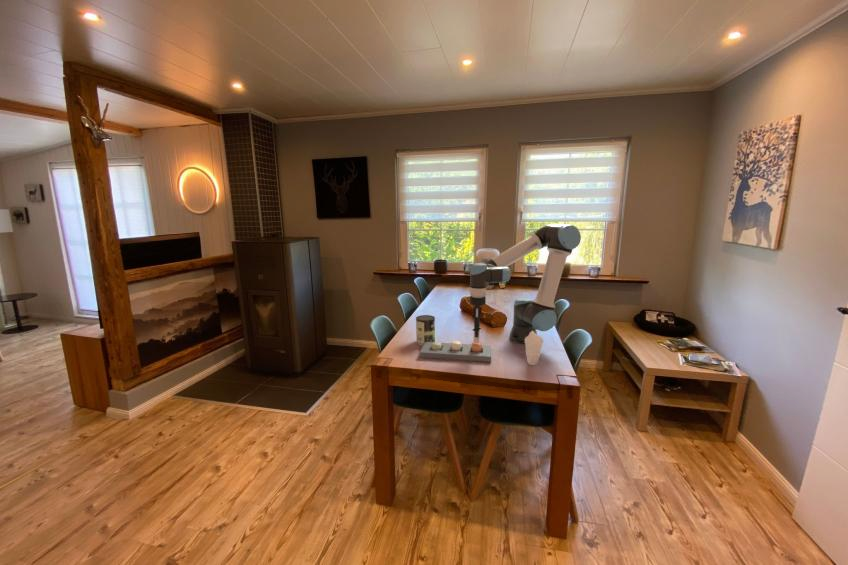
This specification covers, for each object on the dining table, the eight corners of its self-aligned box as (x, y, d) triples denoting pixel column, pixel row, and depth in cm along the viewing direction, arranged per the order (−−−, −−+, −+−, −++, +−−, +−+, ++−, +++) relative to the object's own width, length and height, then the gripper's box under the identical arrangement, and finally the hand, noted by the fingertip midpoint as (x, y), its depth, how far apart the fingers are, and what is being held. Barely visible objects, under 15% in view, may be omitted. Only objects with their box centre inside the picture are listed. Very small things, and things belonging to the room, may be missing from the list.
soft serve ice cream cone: (538, 359, 165) (539, 327, 162) (544, 367, 157) (546, 333, 153) (520, 360, 164) (522, 328, 161) (526, 367, 156) (528, 334, 153)
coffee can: (436, 339, 192) (436, 315, 190) (433, 346, 182) (433, 321, 180) (418, 338, 194) (418, 314, 192) (414, 345, 184) (413, 320, 182)
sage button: (441, 349, 175) (441, 342, 174) (440, 353, 170) (440, 345, 170) (432, 349, 176) (432, 341, 175) (430, 352, 171) (430, 345, 171)
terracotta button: (481, 349, 171) (481, 342, 171) (481, 353, 167) (481, 346, 166) (471, 349, 172) (471, 341, 172) (471, 353, 168) (471, 345, 167)
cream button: (461, 348, 173) (461, 341, 172) (460, 352, 168) (461, 344, 168) (451, 348, 174) (451, 340, 173) (450, 351, 169) (450, 344, 169)
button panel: (490, 351, 175) (490, 345, 175) (491, 362, 162) (491, 356, 161) (425, 347, 181) (425, 341, 181) (420, 358, 168) (420, 352, 167)
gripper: (470, 292, 171) (469, 337, 175) (469, 298, 158) (468, 347, 163) (485, 293, 170) (484, 338, 174) (485, 299, 157) (484, 348, 162)
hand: (476, 342), depth 169 cm, fingers closed
